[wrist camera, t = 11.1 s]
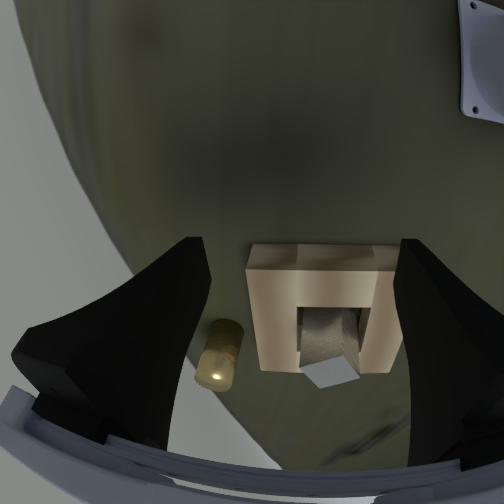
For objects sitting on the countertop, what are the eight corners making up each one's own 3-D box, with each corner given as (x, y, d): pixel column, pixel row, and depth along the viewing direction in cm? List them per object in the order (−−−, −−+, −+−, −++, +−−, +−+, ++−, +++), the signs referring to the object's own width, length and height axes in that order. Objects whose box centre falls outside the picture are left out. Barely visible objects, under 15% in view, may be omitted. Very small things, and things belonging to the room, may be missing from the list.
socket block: (413, 245, 21) (424, 271, 18) (385, 347, 28) (389, 372, 25) (252, 243, 23) (245, 269, 21) (265, 345, 30) (260, 370, 28)
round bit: (241, 320, 28) (227, 374, 24) (245, 341, 30) (233, 393, 25) (208, 317, 29) (190, 369, 24) (214, 339, 31) (199, 388, 26)
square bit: (339, 282, 24) (342, 355, 18) (355, 307, 25) (360, 377, 20) (304, 296, 25) (298, 367, 20) (321, 319, 27) (319, 388, 21)
